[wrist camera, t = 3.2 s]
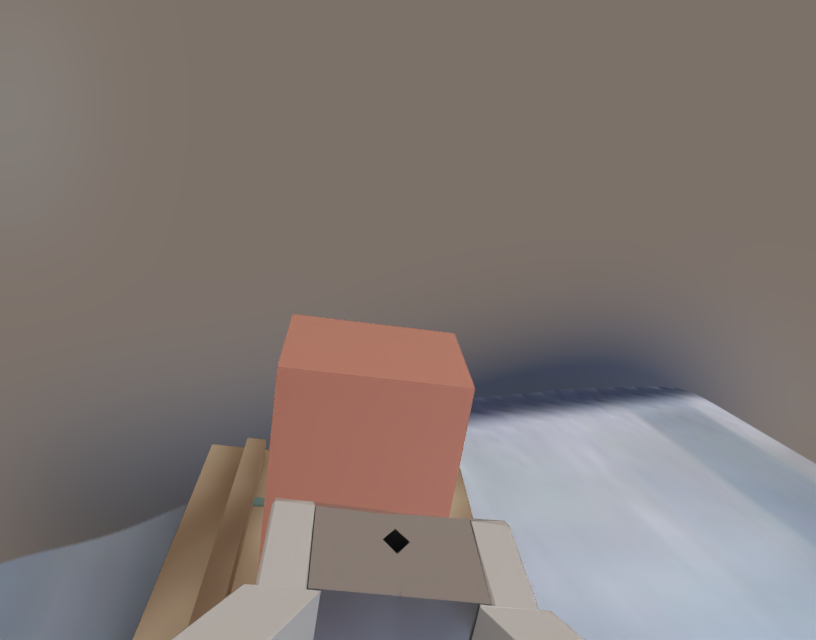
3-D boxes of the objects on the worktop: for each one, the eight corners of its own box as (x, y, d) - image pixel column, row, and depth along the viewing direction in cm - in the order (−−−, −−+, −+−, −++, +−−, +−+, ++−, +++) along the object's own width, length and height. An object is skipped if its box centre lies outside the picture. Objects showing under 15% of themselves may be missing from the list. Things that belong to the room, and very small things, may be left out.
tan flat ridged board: (455, 490, 39) (463, 450, 38) (583, 1042, 17) (610, 974, 16) (210, 467, 38) (213, 425, 37) (-13, 1043, 15) (-19, 968, 14)
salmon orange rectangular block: (407, 643, 26) (467, 329, 21) (418, 770, 21) (498, 399, 17) (247, 633, 25) (278, 306, 21) (221, 761, 20) (254, 372, 16)
